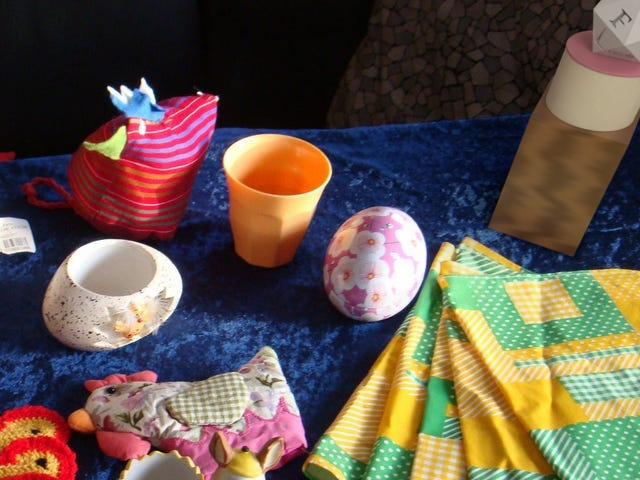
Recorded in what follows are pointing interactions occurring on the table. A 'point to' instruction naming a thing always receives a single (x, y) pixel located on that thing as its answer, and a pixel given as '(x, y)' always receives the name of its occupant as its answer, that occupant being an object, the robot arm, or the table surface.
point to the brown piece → (558, 180)
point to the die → (617, 29)
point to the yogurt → (594, 88)
